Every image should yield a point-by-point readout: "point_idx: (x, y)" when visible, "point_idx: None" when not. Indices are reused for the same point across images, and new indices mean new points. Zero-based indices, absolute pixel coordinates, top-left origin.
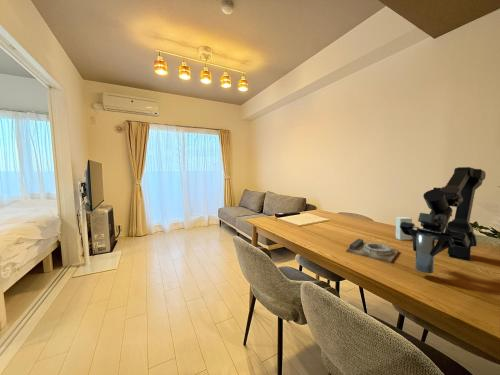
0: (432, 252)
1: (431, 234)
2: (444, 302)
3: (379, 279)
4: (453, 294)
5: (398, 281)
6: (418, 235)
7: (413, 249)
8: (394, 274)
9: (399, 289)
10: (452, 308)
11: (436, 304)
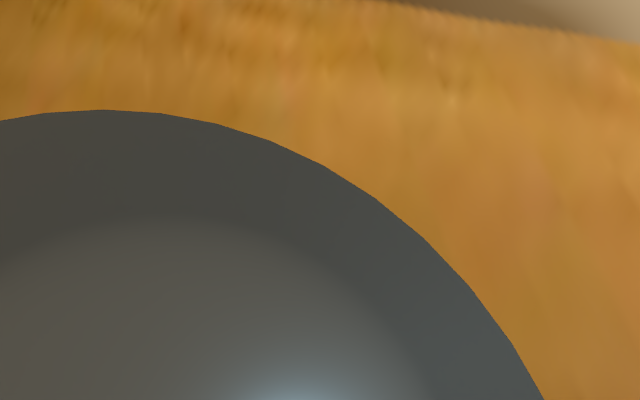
0: None
1: None
2: (118, 60)
3: (512, 47)
4: None
5: (407, 122)
6: (366, 198)
7: None
8: (482, 227)
9: (359, 14)
10: (79, 26)
11: (153, 4)
